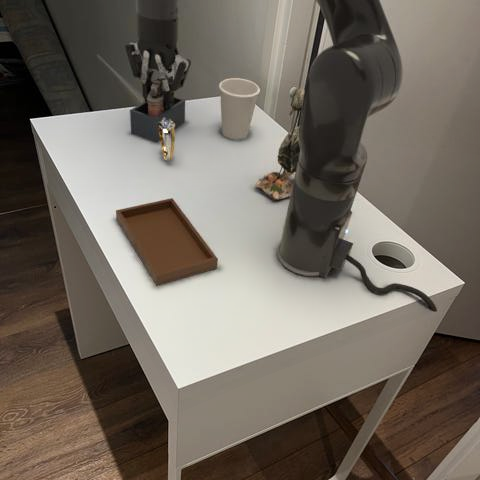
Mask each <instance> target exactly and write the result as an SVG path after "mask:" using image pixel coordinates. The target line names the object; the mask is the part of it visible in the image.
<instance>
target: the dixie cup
mask: <svg viewBox="0 0 480 480" xmlns="http://www.w3.org/2000/svg"><path fill="white" fill-rule="evenodd" d="M218 88H219V94H220V95H219V96H220V118H221V120H220V121H221V122H220V123H221V134H222V136H224V137H225V138H227V139H229V140H237V141H238V140H240V141H241V140H245V139H246V138H247V137H248V135H249V132H250V127H251V123H252V119H253V116H254V113H255V112H254V111H255V108H256V104H257V100H258V95H259V94H260V92H261V90H260V87H259V86H258V84H256V83H255V82H254V81H251V80H249V79H246V78H239V77H238V78H237V77H232V78H226V79H224V80H222V81H221V82H219V85H218Z"/></svg>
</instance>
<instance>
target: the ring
mask: <svg viewBox="0 0 480 480" xmlns="http://www.w3.org/2000/svg"><path fill="white" fill-rule="evenodd" d="M170 126H171V127H170ZM174 127H175V123H174V122H173V121H171V119H169V121H166V120H165V117H163V120H162V122H158V130H159V136H160V141H159V142H160V147H161V149H162V150H161V152H162V155H163V160H165V161H171V160H172V159H173V155H174V150H175V142H176V134H175V133H176V132H175V130H174ZM161 129H162V131H161ZM169 130H170V133H169V134H170V135H169V134H168V132H167V131H169ZM166 144H167V145H166Z"/></svg>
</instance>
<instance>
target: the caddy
mask: <svg viewBox="0 0 480 480" xmlns="http://www.w3.org/2000/svg"><path fill="white" fill-rule="evenodd" d="M163 117H165V120H166V121H169V119H171V121H173V122H174V123H175V127H174V131H175V130H176V129H178V128H179V127H181V126H182V125H183V124H184V123H185V122H186V100H185V99H184V98H181V97H178V96H175V95H174V104H173V105H172V106H171V107H170V108H168V110H166V111H164V112H163V113H161V114H160V115H158V116H157V117H152V116H149V113H148V103H147V102H145V100H144V101H143V102H141V103H139V104H138V105H136V106H134V107H133V108H131V109H129V121H130V133H131V135H135V136H137V137H139V138H142V139H145V140H147V141H150V142H153V143H156V144H157V143H158V142H161V141H160V136H159V130H158V122H162V120H163ZM170 127H171V126H170ZM161 131H162V129H161ZM167 132H168V135H169V134H171V133H170V130H169V131H167Z"/></svg>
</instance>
